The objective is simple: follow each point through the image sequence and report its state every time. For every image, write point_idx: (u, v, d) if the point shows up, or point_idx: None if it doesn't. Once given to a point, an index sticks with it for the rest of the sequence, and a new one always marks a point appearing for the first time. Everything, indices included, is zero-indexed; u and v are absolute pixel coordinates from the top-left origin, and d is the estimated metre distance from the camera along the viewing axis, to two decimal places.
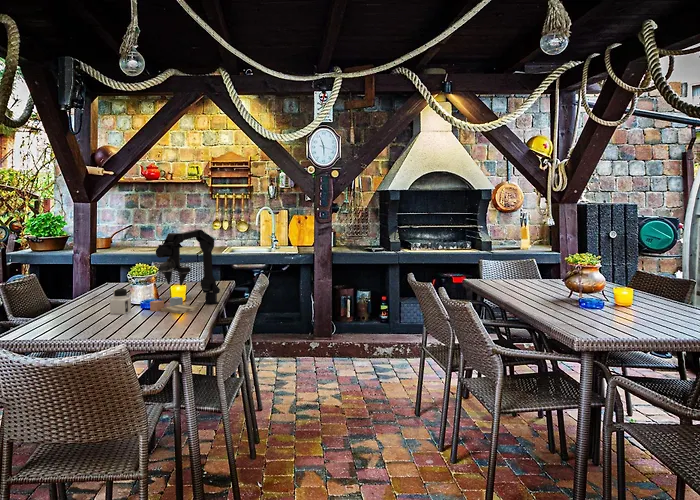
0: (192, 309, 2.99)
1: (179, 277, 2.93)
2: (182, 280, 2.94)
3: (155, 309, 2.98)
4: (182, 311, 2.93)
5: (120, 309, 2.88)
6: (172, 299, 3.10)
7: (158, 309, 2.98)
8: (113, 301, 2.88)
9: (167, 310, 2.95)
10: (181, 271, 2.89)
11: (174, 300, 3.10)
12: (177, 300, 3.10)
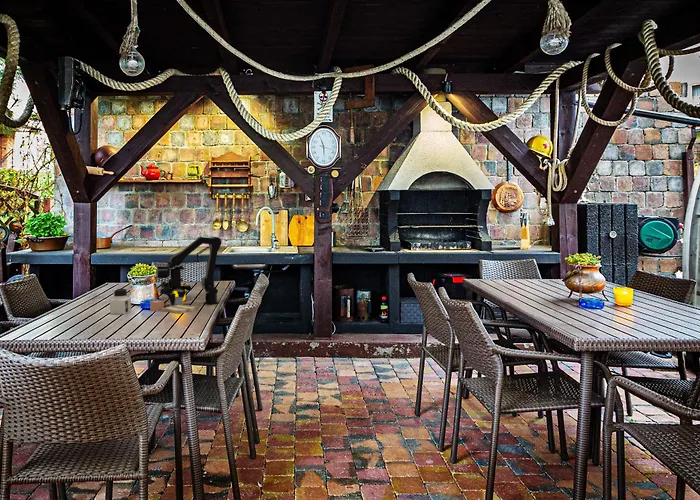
0: (192, 309, 2.99)
1: None
2: (171, 300, 3.09)
3: (155, 309, 2.98)
4: (182, 311, 2.93)
5: (120, 309, 2.88)
6: None
7: (158, 309, 2.98)
8: (113, 301, 2.88)
9: (167, 310, 2.95)
10: None
11: None
12: (177, 300, 3.10)
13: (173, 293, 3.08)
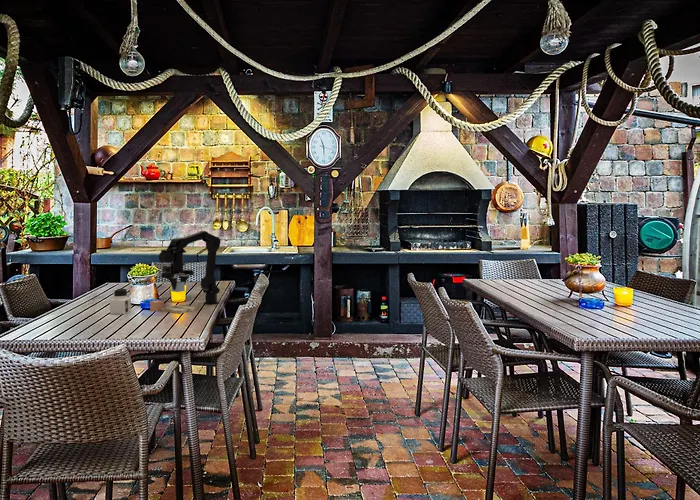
0: (192, 309, 2.99)
1: None
2: (173, 285, 2.99)
3: (155, 309, 2.98)
4: (182, 311, 2.93)
5: (120, 309, 2.88)
6: None
7: (158, 309, 2.98)
8: (113, 301, 2.88)
9: (167, 310, 2.95)
10: None
11: (176, 284, 3.00)
12: (179, 284, 3.00)
13: None
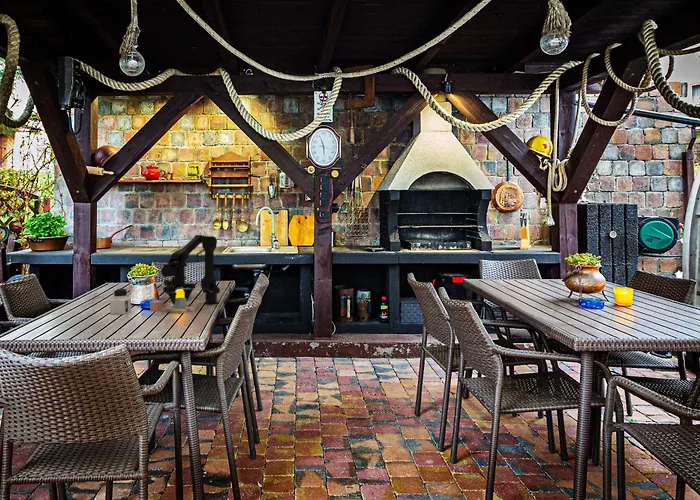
0: (192, 309, 2.99)
1: None
2: (172, 299, 2.95)
3: (155, 309, 2.98)
4: (182, 311, 2.93)
5: (120, 309, 2.88)
6: (175, 300, 2.98)
7: (158, 309, 2.98)
8: (113, 301, 2.88)
9: (167, 310, 2.95)
10: None
11: (178, 301, 2.98)
12: (181, 301, 2.98)
13: (174, 292, 2.94)
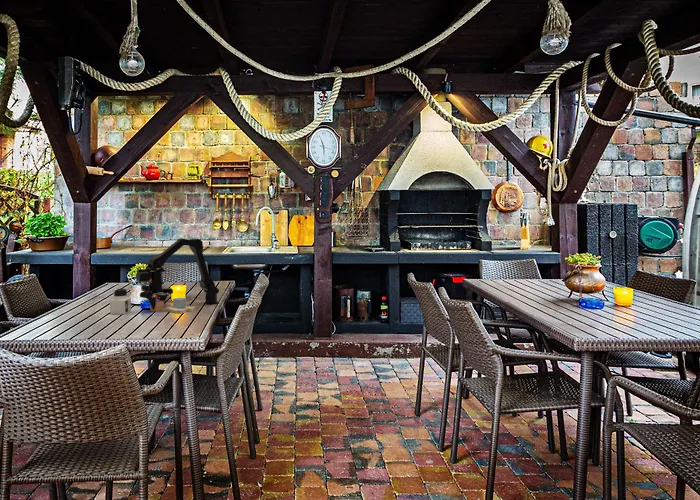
0: (192, 309, 2.99)
1: None
2: (152, 304, 2.97)
3: (155, 309, 2.98)
4: (182, 311, 2.93)
5: (120, 309, 2.88)
6: (175, 300, 2.98)
7: (158, 309, 2.98)
8: (113, 301, 2.88)
9: (167, 310, 2.95)
10: None
11: (178, 301, 2.98)
12: (181, 301, 2.98)
13: (153, 297, 2.95)
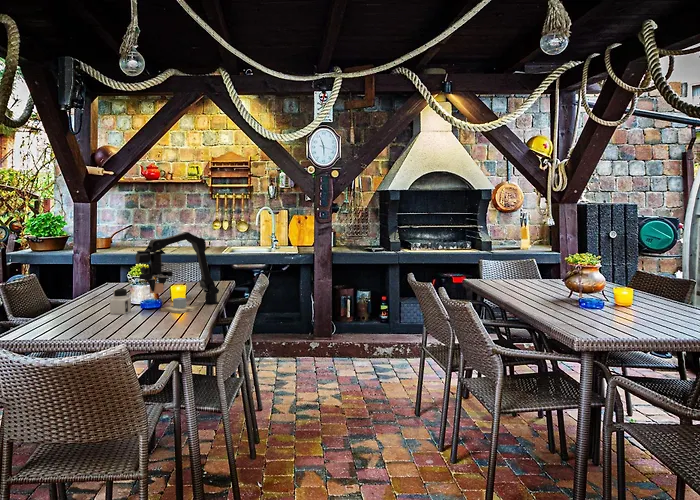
0: (192, 309, 2.99)
1: None
2: (151, 286, 2.96)
3: (154, 291, 2.97)
4: (182, 311, 2.93)
5: (120, 309, 2.88)
6: (175, 300, 2.98)
7: (157, 291, 2.97)
8: (113, 301, 2.88)
9: (167, 310, 2.95)
10: None
11: (178, 301, 2.98)
12: (181, 301, 2.98)
13: None
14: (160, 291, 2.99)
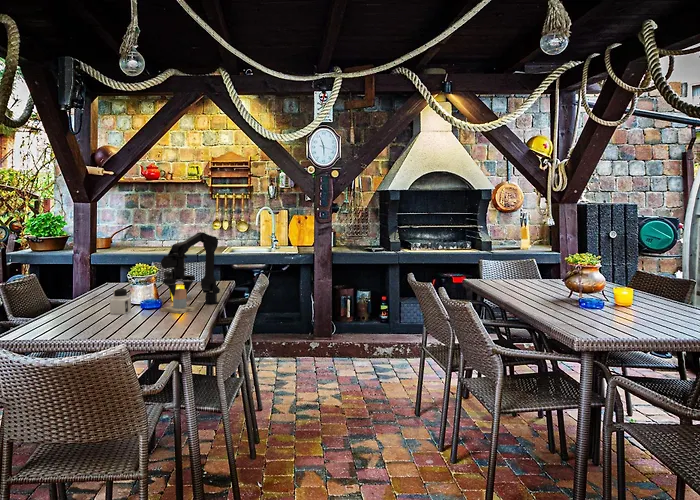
0: (192, 309, 2.99)
1: None
2: (172, 291, 2.95)
3: (178, 297, 2.97)
4: (182, 311, 2.93)
5: (120, 309, 2.88)
6: (175, 300, 2.98)
7: (181, 297, 2.98)
8: (113, 301, 2.88)
9: (167, 310, 2.95)
10: None
11: (178, 301, 2.98)
12: (181, 301, 2.98)
13: None
14: (183, 297, 2.99)
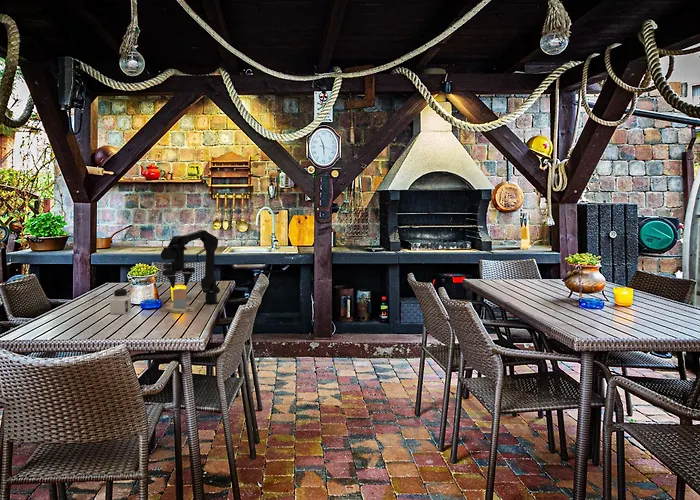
0: (192, 309, 2.99)
1: None
2: (171, 283, 2.94)
3: (178, 297, 2.97)
4: (182, 311, 2.93)
5: (120, 309, 2.88)
6: (175, 300, 2.98)
7: (181, 297, 2.98)
8: (113, 301, 2.88)
9: (167, 310, 2.95)
10: None
11: (178, 301, 2.98)
12: (181, 301, 2.98)
13: (173, 275, 2.93)
14: (183, 297, 2.99)
